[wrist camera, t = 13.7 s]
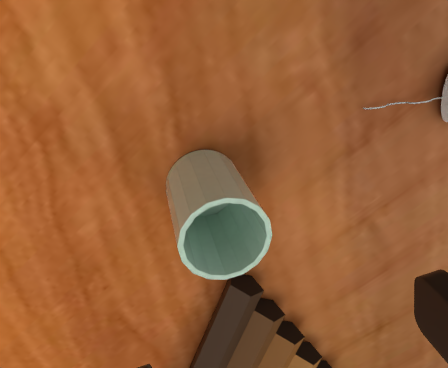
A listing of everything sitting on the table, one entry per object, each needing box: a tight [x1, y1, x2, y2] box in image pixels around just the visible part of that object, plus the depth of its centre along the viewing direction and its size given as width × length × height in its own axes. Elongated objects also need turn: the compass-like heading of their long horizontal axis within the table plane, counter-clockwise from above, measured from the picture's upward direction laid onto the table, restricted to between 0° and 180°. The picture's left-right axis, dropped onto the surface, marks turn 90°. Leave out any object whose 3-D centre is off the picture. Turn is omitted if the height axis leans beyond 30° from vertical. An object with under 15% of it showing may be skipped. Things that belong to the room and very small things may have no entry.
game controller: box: [363, 75, 448, 122], centre depth 35 cm, size 6×12×3 cm, turn 114°
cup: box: [166, 150, 272, 280], centre depth 31 cm, size 6×6×9 cm
